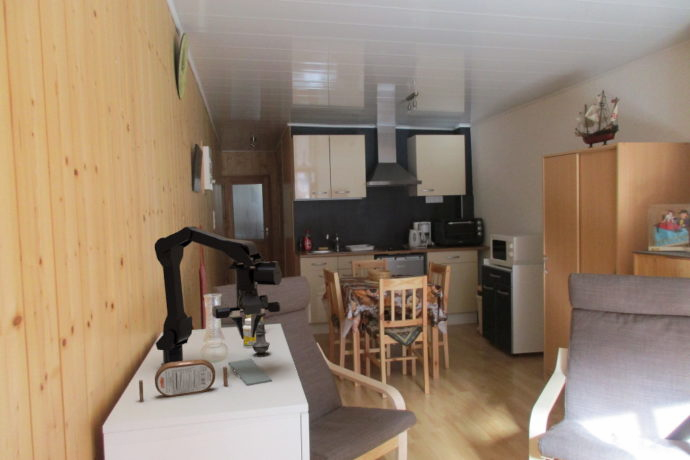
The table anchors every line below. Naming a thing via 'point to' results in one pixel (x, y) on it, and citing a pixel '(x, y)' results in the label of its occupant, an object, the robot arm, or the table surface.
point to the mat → (250, 372)
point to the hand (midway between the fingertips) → (247, 338)
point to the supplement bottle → (248, 334)
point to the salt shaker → (260, 341)
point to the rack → (225, 379)
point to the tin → (184, 377)
